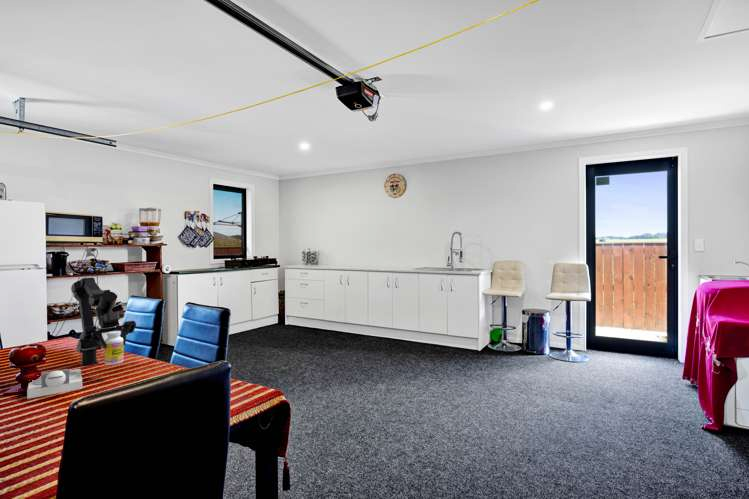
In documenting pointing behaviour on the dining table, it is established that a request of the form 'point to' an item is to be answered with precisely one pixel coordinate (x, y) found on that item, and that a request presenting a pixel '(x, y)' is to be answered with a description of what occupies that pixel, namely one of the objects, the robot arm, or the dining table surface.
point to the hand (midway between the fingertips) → (115, 346)
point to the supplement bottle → (114, 348)
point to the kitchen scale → (55, 383)
